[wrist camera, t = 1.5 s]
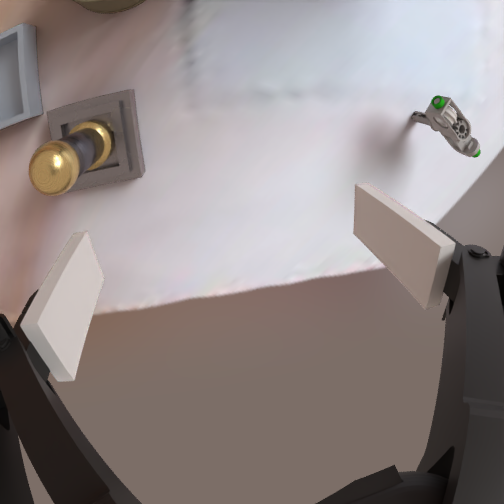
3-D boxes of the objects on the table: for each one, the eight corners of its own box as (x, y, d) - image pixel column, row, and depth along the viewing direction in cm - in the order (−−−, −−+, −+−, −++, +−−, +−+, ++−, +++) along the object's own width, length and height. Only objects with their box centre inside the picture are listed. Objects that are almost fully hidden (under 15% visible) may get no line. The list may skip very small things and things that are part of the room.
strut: (67, 126, 28) (9, 151, 17) (110, 115, 29) (66, 133, 18) (76, 169, 31) (25, 214, 20) (117, 160, 32) (80, 201, 20)
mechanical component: (430, 144, 40) (475, 163, 32) (388, 101, 36) (436, 110, 28) (439, 130, 39) (485, 146, 31) (398, 85, 35) (447, 92, 27)
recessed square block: (56, 109, 30) (42, 112, 26) (134, 89, 31) (126, 89, 27) (71, 185, 35) (59, 196, 31) (145, 170, 36) (140, 180, 32)
